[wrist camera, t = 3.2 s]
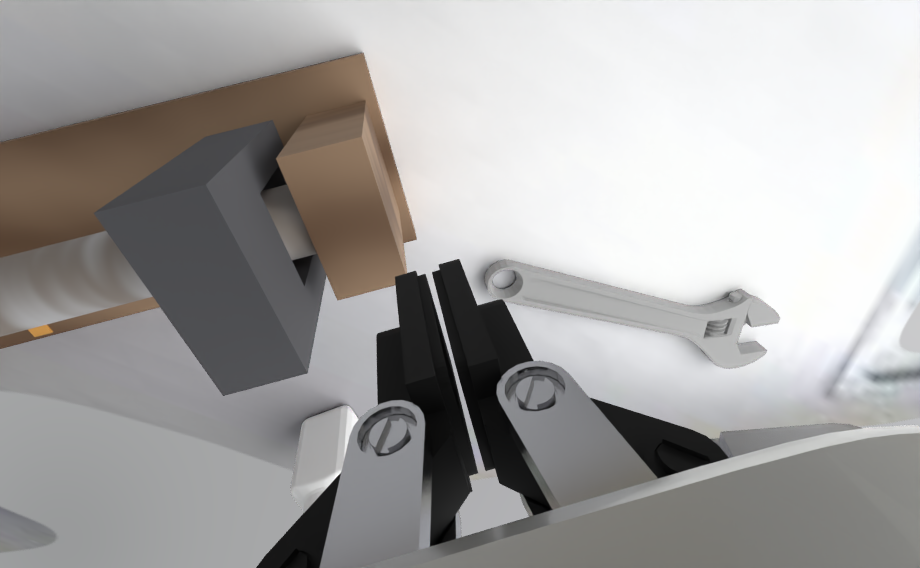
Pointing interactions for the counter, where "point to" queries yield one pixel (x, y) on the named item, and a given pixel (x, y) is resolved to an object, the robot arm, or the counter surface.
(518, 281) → the adjustable wrench
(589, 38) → the counter surface
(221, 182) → the collar
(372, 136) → the pipe stand
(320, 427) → the salt shaker
